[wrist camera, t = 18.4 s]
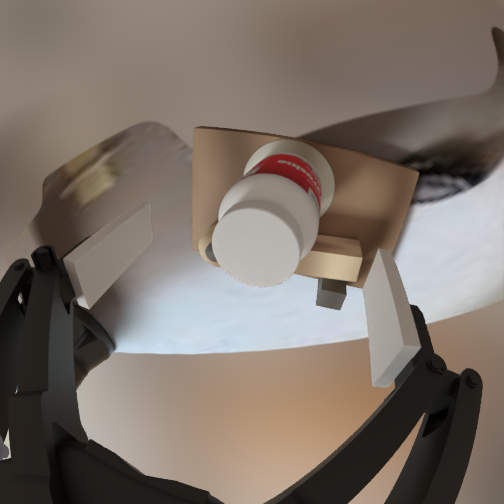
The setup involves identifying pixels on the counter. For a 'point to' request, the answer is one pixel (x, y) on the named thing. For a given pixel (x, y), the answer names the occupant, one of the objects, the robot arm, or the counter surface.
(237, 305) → the counter surface
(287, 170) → the pill bottle
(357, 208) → the board
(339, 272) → the leg bar
